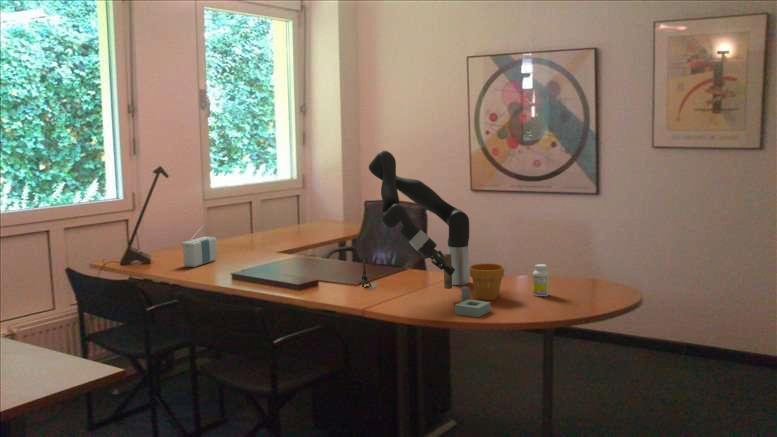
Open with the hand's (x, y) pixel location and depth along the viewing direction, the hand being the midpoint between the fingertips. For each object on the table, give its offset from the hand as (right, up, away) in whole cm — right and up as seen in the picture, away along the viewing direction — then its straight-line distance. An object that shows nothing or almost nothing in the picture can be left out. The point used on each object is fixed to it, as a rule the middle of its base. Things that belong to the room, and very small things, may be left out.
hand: (452, 272), depth 306 cm
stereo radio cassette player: (-127, -2, +92) cm, 156 cm away
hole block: (+6, -14, -18) cm, 24 cm away
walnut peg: (-2, -6, +2) cm, 7 cm away
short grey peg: (+5, -13, -6) cm, 15 cm away
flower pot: (+15, -11, +5) cm, 19 cm away
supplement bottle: (+38, -10, +6) cm, 39 cm away
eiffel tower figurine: (-37, -9, +31) cm, 49 cm away
